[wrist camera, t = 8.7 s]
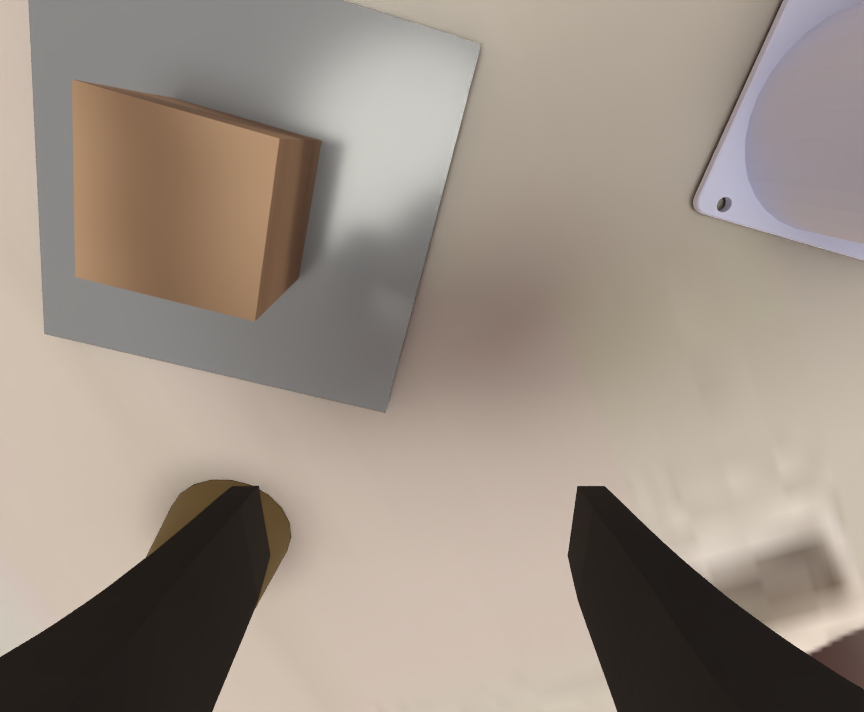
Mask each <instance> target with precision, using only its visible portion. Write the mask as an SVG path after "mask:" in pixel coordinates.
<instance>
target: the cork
mask: <svg viewBox="0 0 864 712" xmlns="http://www.w3.org/2000/svg"><path fill="white" fill-rule="evenodd" d="M231 486H251V485H247V484H243V483H240V482H236V481H232V480H210V481H206V482H202V483H199V484H195V485H193V486H191V487H190V488H188V489H187V490H185V491H184V492H182V493H181V494H180V495H179V496H178V498H177V499H176V501H175V502H174V503H173V505H172V506H171V508H170V510H169V512H168V514H167V516H166V518H165V520H164V522H163V524H162V526H161V528H160V530H159V532H158V534H157V536H156V538H155V540H154V542H153V544H152V546H151V548H150V550H149V552H148V554H147V556H146V557H148V556H149V555H150V554H151V553H153V552H154V551H155V550H157V549H158V548H159V547H160V546H161V545H163V544H164V543H165V542H166V541H167V540H169V539H170V538H171V537H172V536H173V535H174V534H176V533H177V532H178V531H179V530H180V529H182V528H183V527H184V526H185V525H186V524H188V523H189V522H190V521H191V520H192V519H193V518H195V517H196V516H197V515H198V514H199V513H200V512H202V511H203V510H204V509H205V508H206V507H207V506H209V505H210V504H211V503H212V502H213V501H214V500H216V499H217V498H218V497H219V496H220V495H221V494H223V493H224V492H225V491H226V490H228V489H229V488H230V487H231ZM259 491H260V490H259ZM260 496H261V502H262V508H263V514H264V520H265V526H266V531H267V537H268V543H269V549H270V555H271V556H270V559H269V563H268V567H267V571H266V574H265V578H264V582H263V585H262V589H261V592H260V595H259V599H258V602H259V601H260V599H261V597H262V595H263V593H264V592H265V590H266V588H267V586H268V584H269V583H270V581H271V579H272V577H273V575H274V574H275V572H276V570H277V568H278V566H279V564H280V563H281V561H282V559H283V557H284V555H285V554H286V552H287V549H288V546H289V543H290V539H291V532H290V524H289V521H288V519H287V517H286V515H285V513H284V512H283V510H282V508H281V507H280V506H279V505H278V504H277V503H276V502H275V501H274V500H273V499H272V498H271V497H270V496H269V495H267V494H266V493H264V492H262V491H260ZM258 602H257V604H258ZM257 604H256V606H257ZM255 608H256V607H255ZM254 610H255V609H254Z"/></svg>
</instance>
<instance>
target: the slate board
mask: <svg viewBox="0 0 864 712" xmlns="http://www.w3.org/2000/svg"><path fill="white" fill-rule="evenodd" d="M29 21H30V42H31V63H32V84H33V105H34V126H35V147H36V168H37V188H38V209H39V230H40V251H41V272H42V293H43V314H44V334H47V335H51V336H55V337H60V338H64V339H68V340H73V341H77V342H81V343H86V344H90V345H94V346H99V347H103V348H107V349H112V350H116V351H120V352H125V353H129V354H133V355H138V356H142V357H146V358H150V359H155V360H159V361H163V362H168V363H172V364H176V365H181V366H185V367H189V368H194V369H198V370H202V371H207V372H211V373H215V374H220V375H224V376H228V377H233V378H237V379H241V380H246V381H250V382H254V383H259V384H263V385H267V386H272V387H276V388H280V389H284V390H289V391H293V392H297V393H302V394H306V395H310V396H315V397H319V398H323V399H328V400H332V401H336V402H341V403H345V404H349V405H354V406H358V407H362V408H367V409H371V410H375V411H380V412H384V413H385V412H386V408H387V404H388V401H389V397H390V393H391V389H392V385H393V381H394V378H395V374H396V370H397V366H398V362H399V358H400V354H401V351H402V347H403V343H404V339H405V335H406V331H407V328H408V324H409V320H410V316H411V312H412V308H413V305H414V301H415V297H416V293H417V289H418V285H419V282H420V278H421V274H422V270H423V266H424V262H425V258H426V255H427V251H428V247H429V243H430V239H431V235H432V232H433V228H434V224H435V220H436V216H437V212H438V209H439V205H440V201H441V197H442V193H443V189H444V186H445V182H446V178H447V174H448V170H449V166H450V162H451V159H452V155H453V151H454V147H455V143H456V139H457V136H458V132H459V128H460V124H461V120H462V116H463V113H464V109H465V105H466V101H467V97H468V93H469V90H470V86H471V82H472V78H473V74H474V70H475V66H476V63H477V59H478V55H479V51H480V47H481V43H478V42H475V41H472V40H468V39H465V38H462V37H459V36H456V35H452V34H449V33H446V32H443V31H440V30H436V29H433V28H430V27H427V26H424V25H420V24H417V23H414V22H411V21H408V20H404V19H401V18H398V17H395V16H392V15H388V14H385V13H382V12H379V11H375V10H372V9H369V8H366V7H363V6H359V5H356V4H353V3H350V2H347V1H343V0H29ZM72 79H73V80H78V81H84V82H89V83H95V84H100V85H106V86H111V87H116V88H122V89H127V90H133V91H138V92H144V93H149V94H155V95H160V96H165V97H171V98H175V99H179V100H182V101H186V102H189V103H193V104H196V105H200V106H203V107H207V108H210V109H214V110H217V111H221V112H224V113H227V114H231V115H234V116H238V117H241V118H245V119H248V120H252V121H255V122H259V123H262V124H266V125H269V126H273V127H276V128H280V129H283V130H287V131H290V132H294V133H297V134H300V135H304V136H307V137H311V138H314V139H318V140H321V147H320V153H319V159H318V165H317V171H316V177H315V183H314V189H313V195H312V201H311V207H310V213H309V219H308V225H307V231H306V237H305V243H304V249H303V255H302V261H301V267H300V273H299V279H298V280H297V281H296V282H295V283H294V284H293V285H292V286H291V287H289V288H288V289H287V290H286V291H285V292H284V293H283V294H282V295H281V296H280V297H279V298H278V299H277V300H276V301H275V302H274V303H273V304H272V305H271V306H270V307H269V308H268V309H267V310H266V311H265V312H264V313H263V314H262V315H261V316H260V317H259V318H258V319H257V320H256V321H251V320H247V319H243V318H239V317H235V316H231V315H227V314H223V313H219V312H215V311H210V310H206V309H202V308H198V307H194V306H190V305H186V304H182V303H178V302H174V301H170V300H166V299H162V298H158V297H154V296H150V295H146V294H142V293H138V292H134V291H130V290H126V289H122V288H118V287H114V286H109V285H105V284H101V283H97V282H93V281H89V280H85V279H81V278H77V277H75V238H74V175H73V112H72Z"/></svg>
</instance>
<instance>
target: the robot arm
mask: <svg viewBox="0 0 864 712" xmlns="http://www.w3.org/2000/svg"><path fill="white" fill-rule="evenodd" d="M723 197H724V198H725V200H726V203H725V206H724V207H723V209H721V210H719V211H718V209H717V203H718V201H719V200H720V199H722V198H723ZM693 206H694V208H695V210H696V211H697V212H699V213H700V214H704V215H707V216H711V217H714V218H718V219H721V220H724V221H728V222H731V223H735V224H738V225H742V226H745V227H749V228H752V229H755V230H759V231H762V232H766V233H769V234H773V235H776V236H780V237H783V238H786V239H790V240H793V241H797V242H800V243H804V244H807V245H811V246H814V247H817V248H821V249H824V250H828V251H831V252H835V253H838V254H842V255H845V256H849V257H852V258H855V259H859V260H862V261H864V0H783V2H782V4H781V6H780V9H779V11H778V13H777V15H776V18H775V20H774V22H773V24H772V26H771V29H770V31H769V33H768V35H767V37H766V40H765V42H764V44H763V46H762V48H761V51H760V53H759V55H758V57H757V59H756V62H755V64H754V66H753V68H752V70H751V73H750V75H749V77H748V79H747V81H746V84H745V86H744V88H743V90H742V92H741V95H740V97H739V99H738V101H737V104H736V106H735V108H734V110H733V112H732V115H731V117H730V119H729V121H728V123H727V126H726V128H725V130H724V132H723V134H722V137H721V139H720V141H719V143H718V145H717V148H716V150H715V152H714V154H713V156H712V159H711V161H710V163H709V165H708V167H707V170H706V172H705V174H704V176H703V179H702V181H701V183H700V185H699V187H698V190H697V192H696V194H695V196H694V200H693ZM270 556H271V555H270V549H269V543H268V537H267V531H266V526H265V520H264V514H263V508H262V502H261V496H260V491H259V486H231V487H230V488H229V489H228V490H226V491H225V492H224V493H223V494H221V495H220V496H219V497H218V498H217V499H216V500H214V501H213V502H212V503H211V504H210V505H209V506H207V507H206V508H205V509H204V510H203V511H202V512H200V513H199V514H198V515H197V516H196V517H195V518H193V519H192V520H191V521H190V522H189V523H188V524H186V525H185V526H184V527H183V528H182V529H180V530H179V531H178V532H177V533H176V534H174V535H173V536H172V537H171V538H170V539H169V540H167V541H166V542H165V543H164V544H163V545H161V546H160V547H159V548H158V549H157V550H155V551H154V552H153V553H151V554H150V555H149V556H148V557H146V558H145V559H144V560H142V561H141V562H140V563H139V564H137V565H136V566H135V567H133V568H132V569H131V570H129V571H128V572H127V573H126V574H124V575H123V576H122V577H120V578H119V579H118V580H117V581H115V582H114V583H113V584H111V585H110V586H109V587H107V588H106V589H105V590H103V591H102V592H100V593H99V594H98V595H96V596H95V597H93V598H92V599H91V600H89V601H88V602H86V603H85V604H83V605H82V606H80V607H79V608H77V609H76V610H75V611H73V612H72V613H70V614H69V615H67V616H66V617H64V618H63V619H61V620H60V621H58V622H57V623H55V624H54V625H52V626H50V627H49V628H47V629H46V630H44V631H43V632H41V633H40V634H38V635H36V636H35V637H33V638H31V639H30V640H28V641H26V642H25V643H23V644H21V645H20V646H18V647H16V648H15V649H13V650H11V651H10V652H8V653H6V654H5V655H3V656H1V657H0V712H212V711H213V708H214V706H215V703H216V701H217V698H218V696H219V694H220V691H221V689H222V686H223V684H224V682H225V679H226V677H227V674H228V672H229V670H230V667H231V665H232V662H233V660H234V658H235V655H236V653H237V651H238V648H239V646H240V643H241V641H242V639H243V636H244V634H245V631H246V629H247V626H248V624H249V621H250V619H251V617H252V614H253V612H254V609H255V607H256V604H257V602H258V599H259V595H260V592H261V589H262V585H263V582H264V578H265V574H266V571H267V567H268V563H269V559H270ZM568 559H569V563H570V568H571V572H572V577H573V581H574V586H575V590H576V594H577V598H578V602H579V605H580V608H581V610H582V613H583V616H584V619H585V622H586V625H587V628H588V630H589V633H590V636H591V639H592V642H593V645H594V647H595V650H596V653H597V656H598V659H599V661H600V664H601V667H602V670H603V672H604V675H605V678H606V681H607V684H608V686H609V689H610V692H611V695H612V698H613V700H614V703H615V706H616V709H617V712H864V690H863V689H862V688H860V687H859V686H857V685H855V684H854V683H852V682H850V681H849V680H847V679H845V678H844V677H842V676H840V675H839V674H837V673H836V672H834V671H832V670H831V669H830V668H828V667H826V666H825V665H823V664H822V663H820V662H819V661H817V660H816V659H814V658H813V657H811V656H809V655H808V654H806V653H805V652H803V651H802V650H800V649H799V648H797V647H796V646H794V645H793V644H791V643H790V642H788V641H787V640H785V639H784V638H782V637H781V636H780V635H778V634H777V633H775V632H774V631H772V630H771V629H770V628H768V627H767V626H766V625H764V624H763V623H761V622H760V621H759V620H757V619H756V618H755V617H753V616H752V615H751V614H749V613H748V612H746V611H745V610H744V609H742V608H741V607H740V606H738V605H737V604H736V603H734V602H733V601H732V600H731V599H729V598H728V597H727V596H725V595H724V594H723V593H722V592H720V591H719V590H718V589H717V588H716V587H714V586H713V585H712V584H711V583H710V582H708V581H707V580H706V579H705V578H703V577H702V576H701V575H700V574H699V573H697V572H696V571H695V570H694V569H693V568H691V567H690V566H689V565H688V564H687V563H686V562H685V561H683V560H682V559H681V558H680V557H679V556H678V555H677V554H676V553H674V552H673V551H672V550H671V549H670V548H669V547H668V546H667V545H666V544H665V543H663V542H662V541H661V540H660V539H659V538H658V537H657V536H656V535H655V534H654V533H653V532H652V531H651V530H650V529H648V528H647V527H646V526H645V525H644V524H643V523H642V522H641V521H640V520H639V519H638V518H637V517H636V516H635V515H634V514H633V513H632V512H631V511H630V510H629V509H628V508H627V507H626V506H625V505H624V504H623V503H622V502H621V501H620V500H619V499H618V498H617V497H615V496H614V495H613V494H612V493H611V492H610V491H609V490H608V489H607V488H606V487H605V486H577V494H576V501H575V508H574V515H573V522H572V529H571V537H570V544H569V551H568Z"/></svg>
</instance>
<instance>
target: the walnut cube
mask: <svg viewBox="0 0 864 712" xmlns="http://www.w3.org/2000/svg"><path fill="white" fill-rule="evenodd" d="M72 112H73V175H74V238H75V277H77V278H81V279H85V280H89V281H93V282H97V283H101V284H105V285H109V286H114V287H118V288H122V289H126V290H130V291H134V292H138V293H142V294H146V295H150V296H154V297H158V298H162V299H166V300H170V301H174V302H178V303H182V304H186V305H190V306H194V307H198V308H202V309H206V310H210V311H215V312H219V313H223V314H227V315H231V316H235V317H239V318H243V319H247V320H251V321H256V320H257V319H258V318H259V317H260V316H261V315H262V314H263V313H264V312H265V311H266V310H267V309H268V308H269V307H270V306H271V305H272V304H273V303H274V302H275V301H276V300H277V299H278V298H279V297H280V296H281V295H282V294H283V293H284V292H285V291H286V290H287V289H288V288H289V287H291V286H292V285H293V284H294V283H295V282H296V281H297V280H298V279H299V273H300V267H301V261H302V255H303V249H304V243H305V237H306V231H307V225H308V219H309V213H310V207H311V201H312V195H313V189H314V183H315V177H316V171H317V165H318V159H319V153H320V147H321V140H318V139H314V138H311V137H307V136H304V135H300V134H297V133H294V132H290V131H287V130H283V129H280V128H276V127H273V126H269V125H266V124H262V123H259V122H255V121H252V120H248V119H245V118H241V117H238V116H234V115H231V114H227V113H224V112H221V111H217V110H214V109H210V108H207V107H203V106H200V105H196V104H193V103H189V102H186V101H182V100H179V99H175V98H171V97H165V96H160V95H155V94H149V93H144V92H138V91H133V90H127V89H122V88H116V87H111V86H106V85H100V84H95V83H89V82H84V81H78V80H73V79H72Z"/></svg>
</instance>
